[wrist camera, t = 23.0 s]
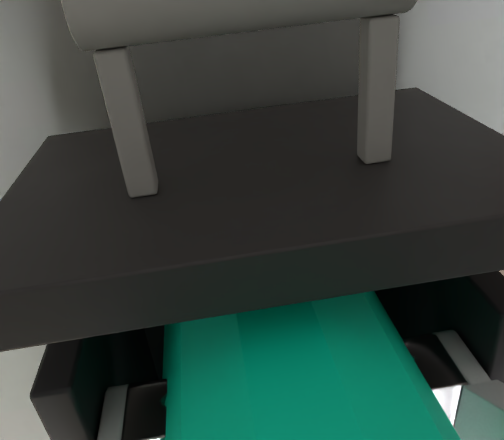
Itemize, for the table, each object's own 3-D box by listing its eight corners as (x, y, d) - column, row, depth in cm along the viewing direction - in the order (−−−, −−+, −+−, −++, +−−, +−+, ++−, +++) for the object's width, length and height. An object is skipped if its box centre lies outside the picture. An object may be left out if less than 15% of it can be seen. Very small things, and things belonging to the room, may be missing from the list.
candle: (359, 189, 15) (773, 723, 4) (326, 331, 18) (533, 859, 7) (168, 182, 14) (133, 850, 3) (165, 334, 17) (143, 948, 6)
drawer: (-7, -28, 12) (-262, -8, 5) (430, -75, 12) (723, -113, 6) (138, 411, 20) (116, 640, 13) (393, 366, 21) (495, 562, 14)
